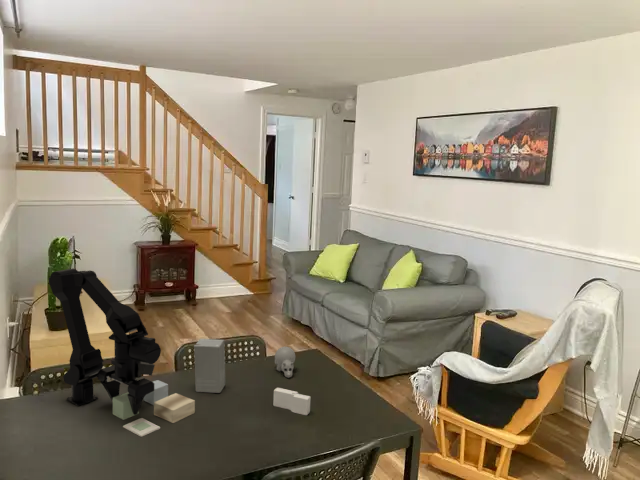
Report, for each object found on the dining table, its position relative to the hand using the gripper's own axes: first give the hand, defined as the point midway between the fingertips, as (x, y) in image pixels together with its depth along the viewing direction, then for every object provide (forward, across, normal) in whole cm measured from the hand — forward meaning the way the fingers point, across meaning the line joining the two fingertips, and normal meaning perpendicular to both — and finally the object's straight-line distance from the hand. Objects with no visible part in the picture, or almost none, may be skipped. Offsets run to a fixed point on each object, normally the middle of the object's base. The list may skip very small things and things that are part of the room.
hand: (125, 409), depth 151 cm
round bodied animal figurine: (+2, -14, -54) cm, 56 cm away
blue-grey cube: (+2, +1, -11) cm, 11 cm away
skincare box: (+2, -5, -27) cm, 28 cm away
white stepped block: (+2, -34, -33) cm, 47 cm away
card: (+1, -10, +2) cm, 10 cm away
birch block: (+2, -10, -9) cm, 14 cm away
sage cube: (+2, 0, 0) cm, 2 cm away
